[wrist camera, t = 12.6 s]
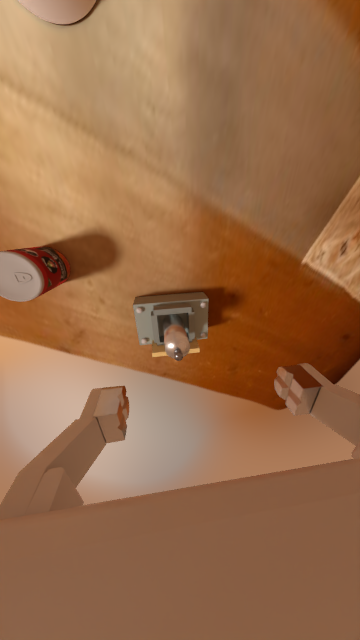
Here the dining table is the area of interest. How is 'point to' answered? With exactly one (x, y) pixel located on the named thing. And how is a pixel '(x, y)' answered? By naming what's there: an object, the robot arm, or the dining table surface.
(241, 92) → the dining table surface
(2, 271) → the canned food
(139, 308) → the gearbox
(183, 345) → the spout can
